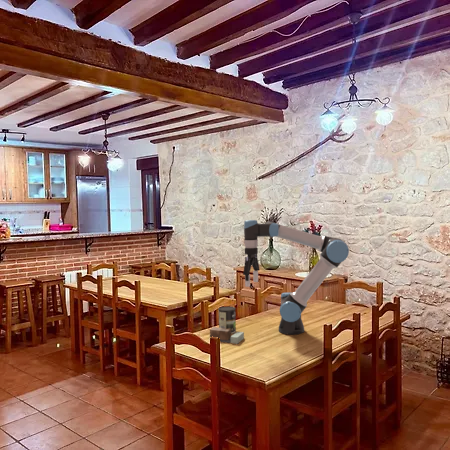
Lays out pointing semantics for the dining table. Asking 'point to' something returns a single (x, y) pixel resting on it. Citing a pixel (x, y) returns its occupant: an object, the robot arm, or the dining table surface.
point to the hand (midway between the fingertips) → (251, 284)
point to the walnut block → (220, 333)
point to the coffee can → (227, 318)
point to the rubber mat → (226, 340)
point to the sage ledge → (237, 337)
